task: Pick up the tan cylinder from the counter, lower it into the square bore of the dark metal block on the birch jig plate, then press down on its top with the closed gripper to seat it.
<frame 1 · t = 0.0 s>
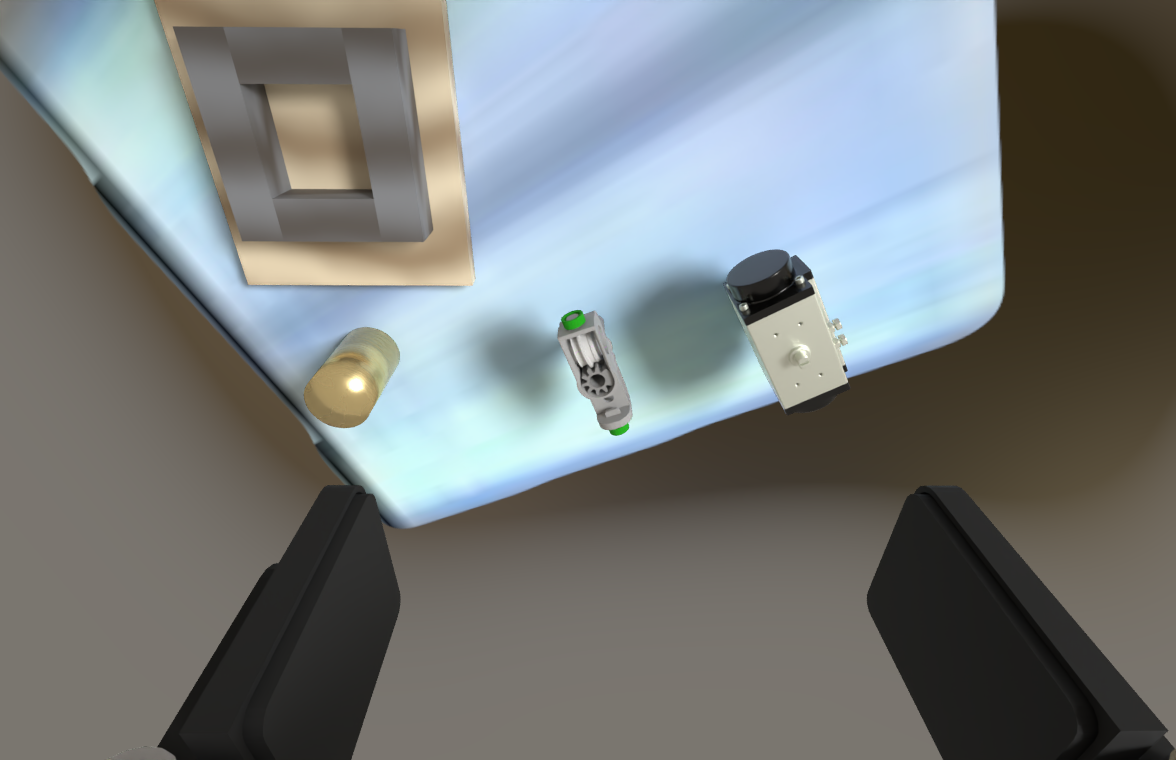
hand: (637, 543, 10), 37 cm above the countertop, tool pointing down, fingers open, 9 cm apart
pneumatic valve: (760, 290, 47), on the countertop
jig plate: (336, 134, 40), on the countertop
tan cylinder: (371, 352, 50), on the countertop
mechanical component: (594, 321, 48), on the countertop
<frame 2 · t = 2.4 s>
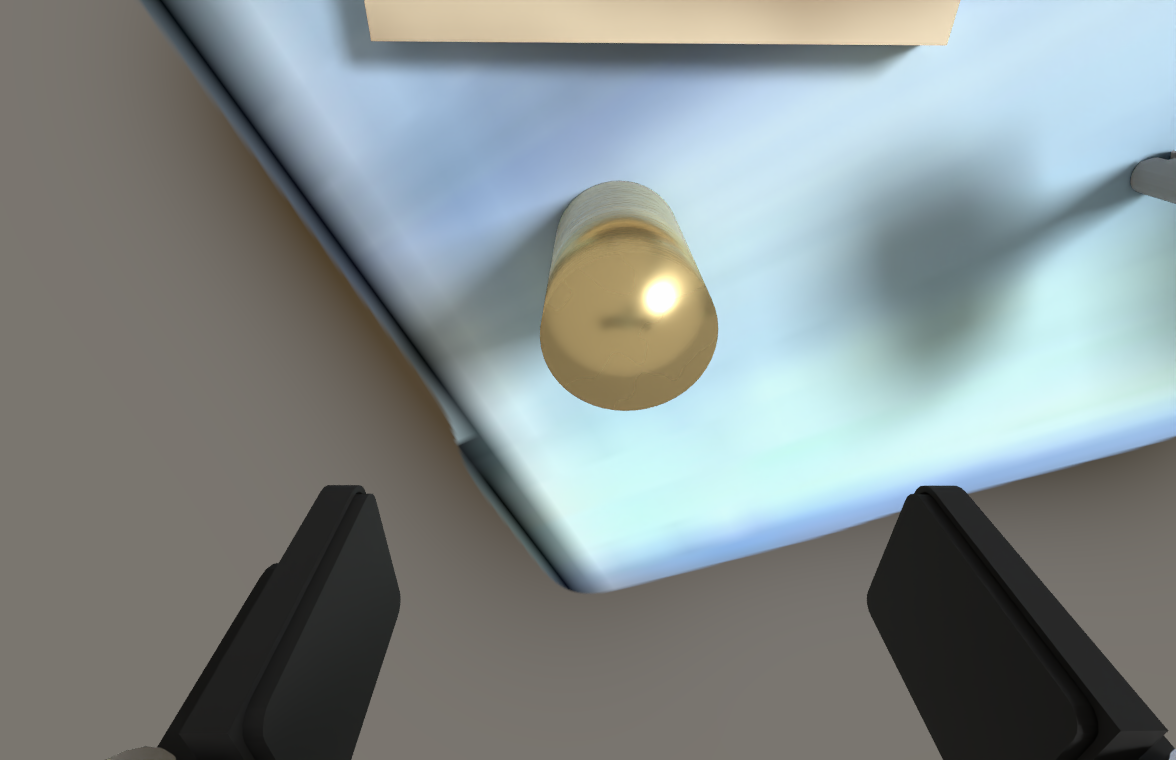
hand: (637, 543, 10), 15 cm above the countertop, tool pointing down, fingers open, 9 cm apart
tan cylinder: (617, 244, 22), on the countertop
mechanical component: (1149, 169, 21), on the countertop
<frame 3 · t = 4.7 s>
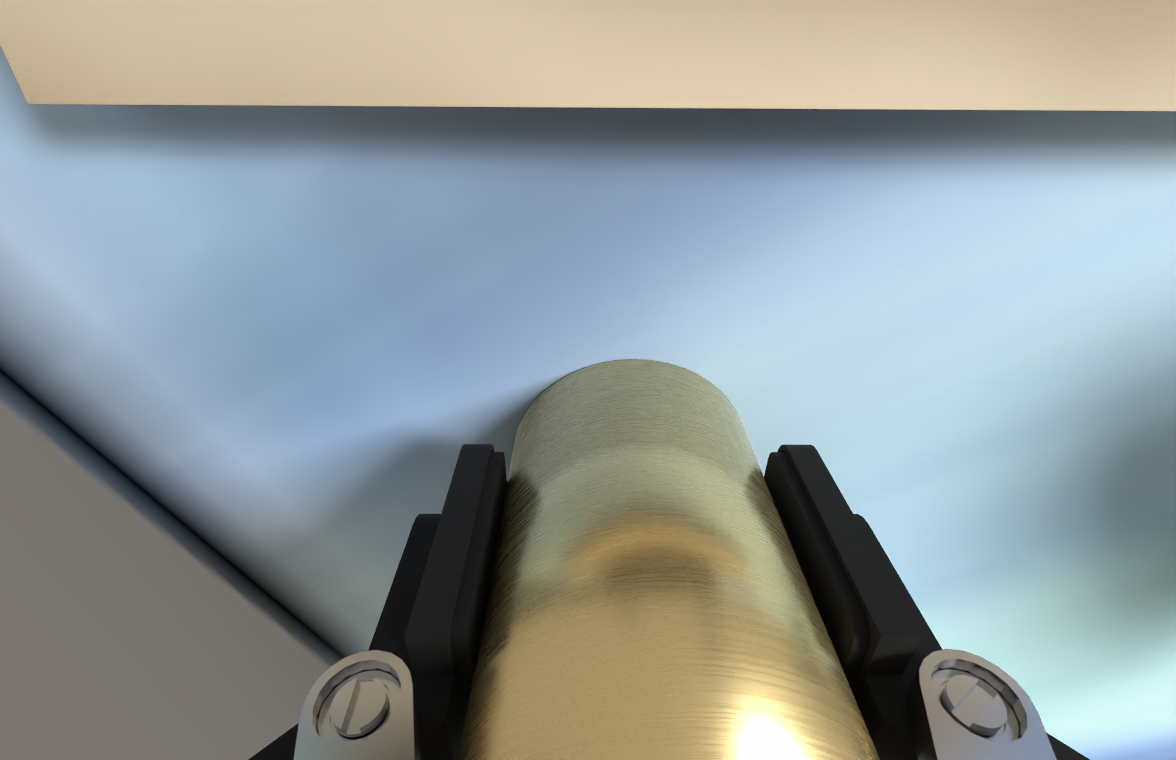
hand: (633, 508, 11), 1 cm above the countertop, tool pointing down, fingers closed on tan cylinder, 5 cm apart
tan cylinder: (628, 459, 12), on the countertop, touching gripper
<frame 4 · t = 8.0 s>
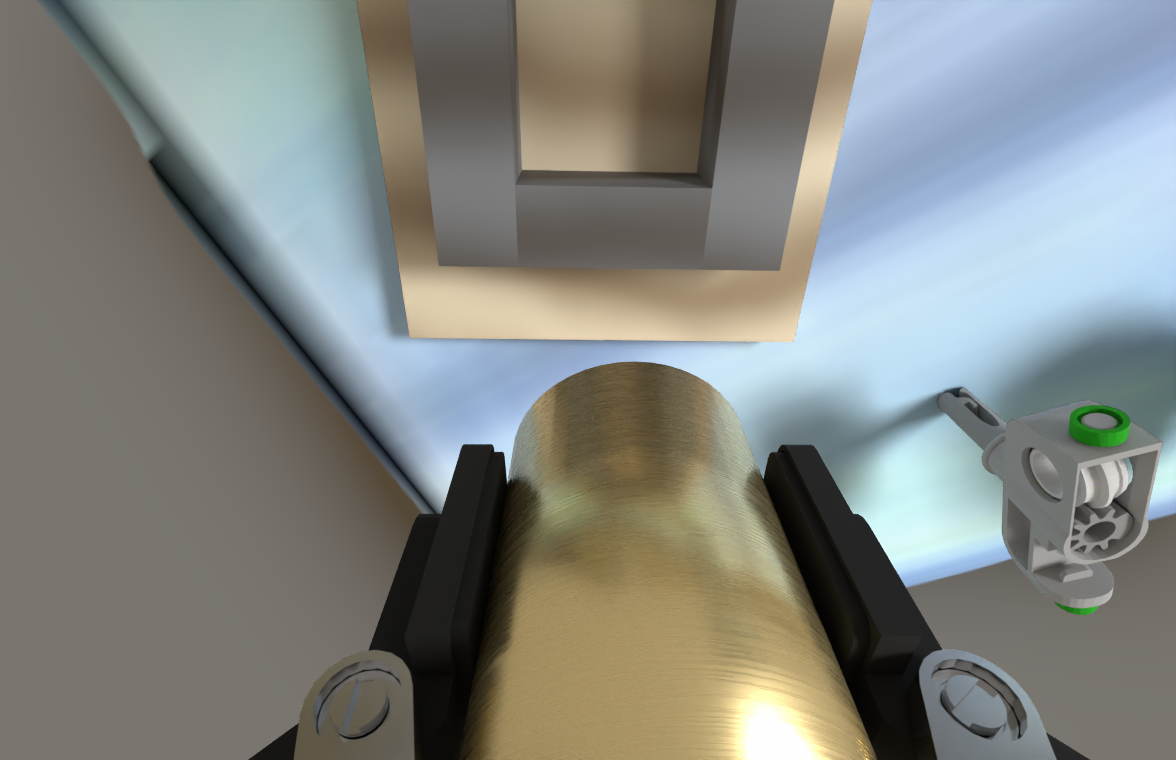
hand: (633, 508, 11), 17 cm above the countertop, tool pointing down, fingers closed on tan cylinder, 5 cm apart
jig plate: (611, 70, 22), on the countertop
tan cylinder: (628, 462, 12), point 15 cm above the countertop, touching gripper
mechanical component: (950, 396, 30), on the countertop
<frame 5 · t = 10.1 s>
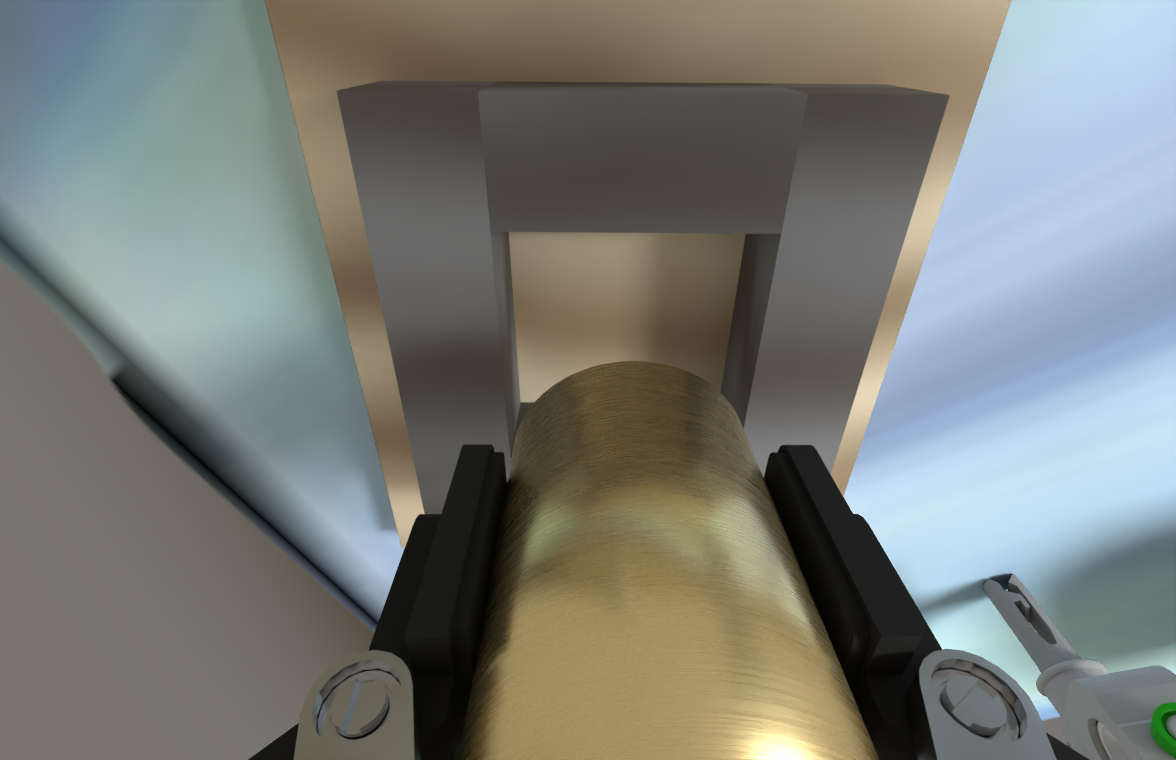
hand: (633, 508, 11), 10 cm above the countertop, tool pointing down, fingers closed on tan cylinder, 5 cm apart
jig plate: (621, 293, 19), on the countertop
tan cylinder: (628, 461, 12), point 8 cm above the countertop, touching gripper
mechanical component: (997, 580, 27), on the countertop
when the fingers open (5 cm above the countertop, at t = 11.8 s): tan cylinder drops 2 cm, resting on jig plate.
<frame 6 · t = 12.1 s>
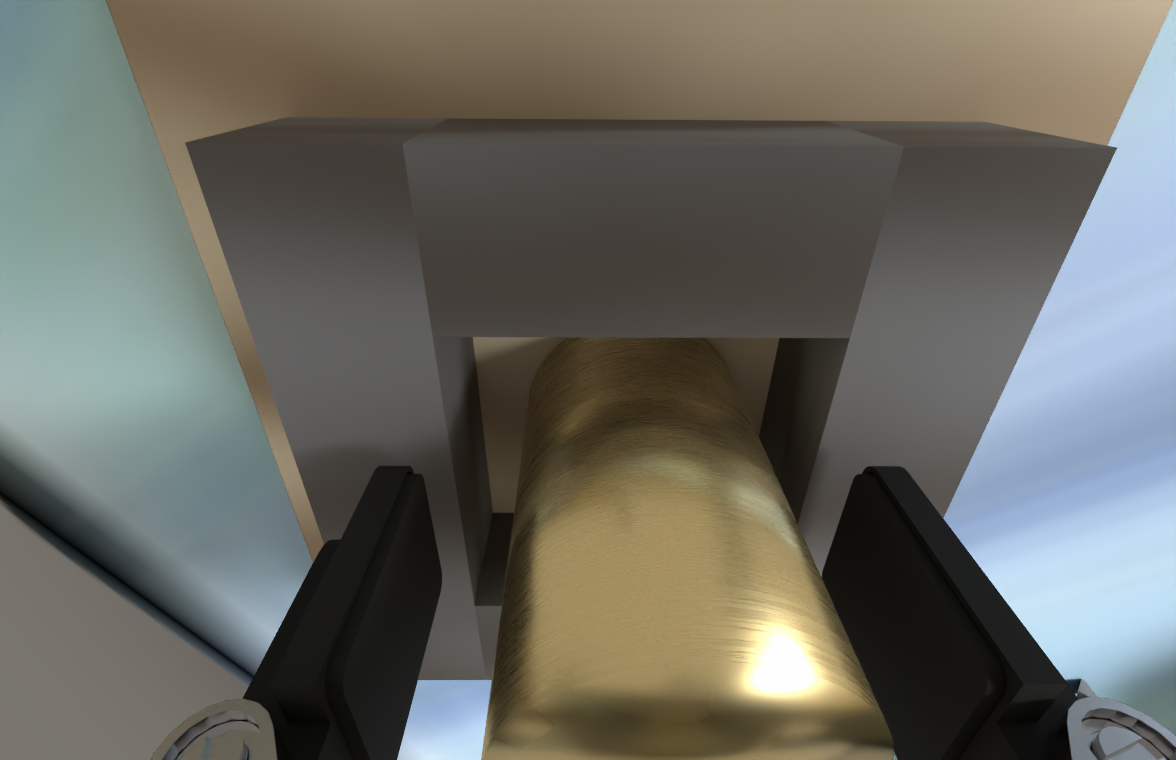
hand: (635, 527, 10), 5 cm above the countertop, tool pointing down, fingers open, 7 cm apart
jig plate: (619, 377, 15), on the countertop
tan cylinder: (631, 408, 14), point 2 cm above the countertop, touching jig plate
mechanical component: (1062, 684, 23), on the countertop
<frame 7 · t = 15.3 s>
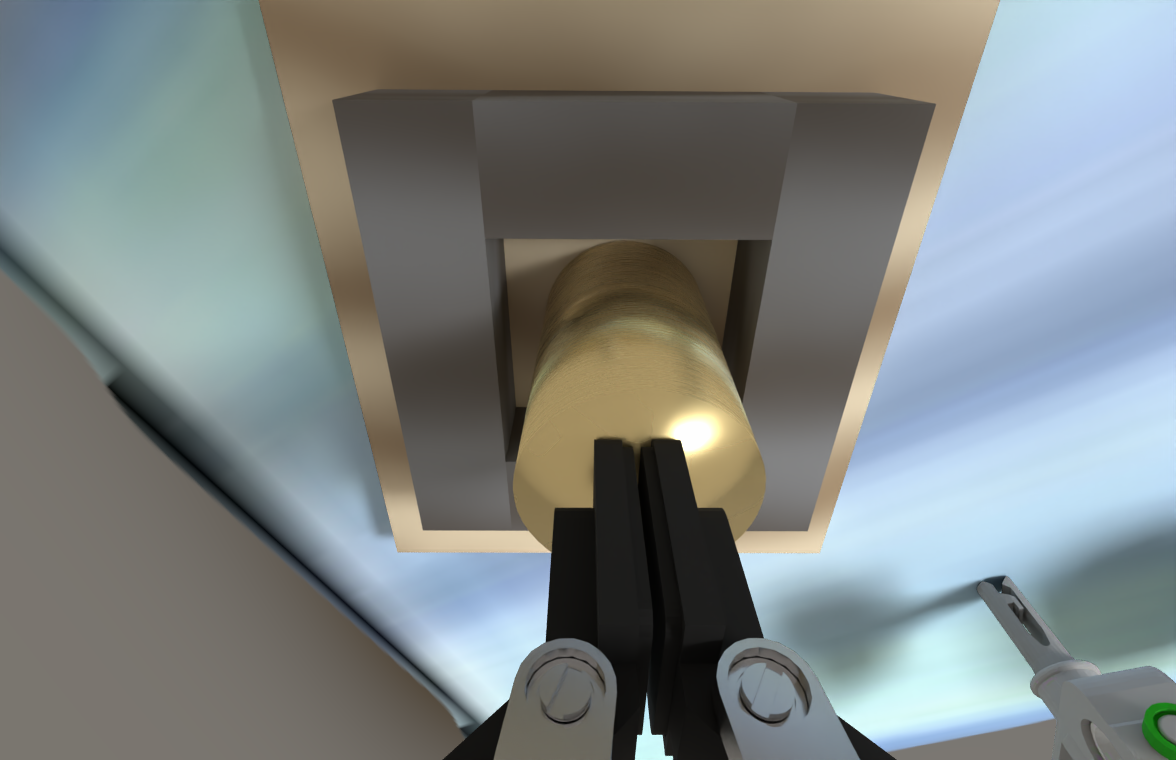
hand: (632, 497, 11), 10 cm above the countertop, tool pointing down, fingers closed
jig plate: (615, 299, 19), on the countertop
tan cylinder: (624, 316, 18), point 2 cm above the countertop, touching gripper, jig plate
mechanical component: (991, 582, 27), on the countertop
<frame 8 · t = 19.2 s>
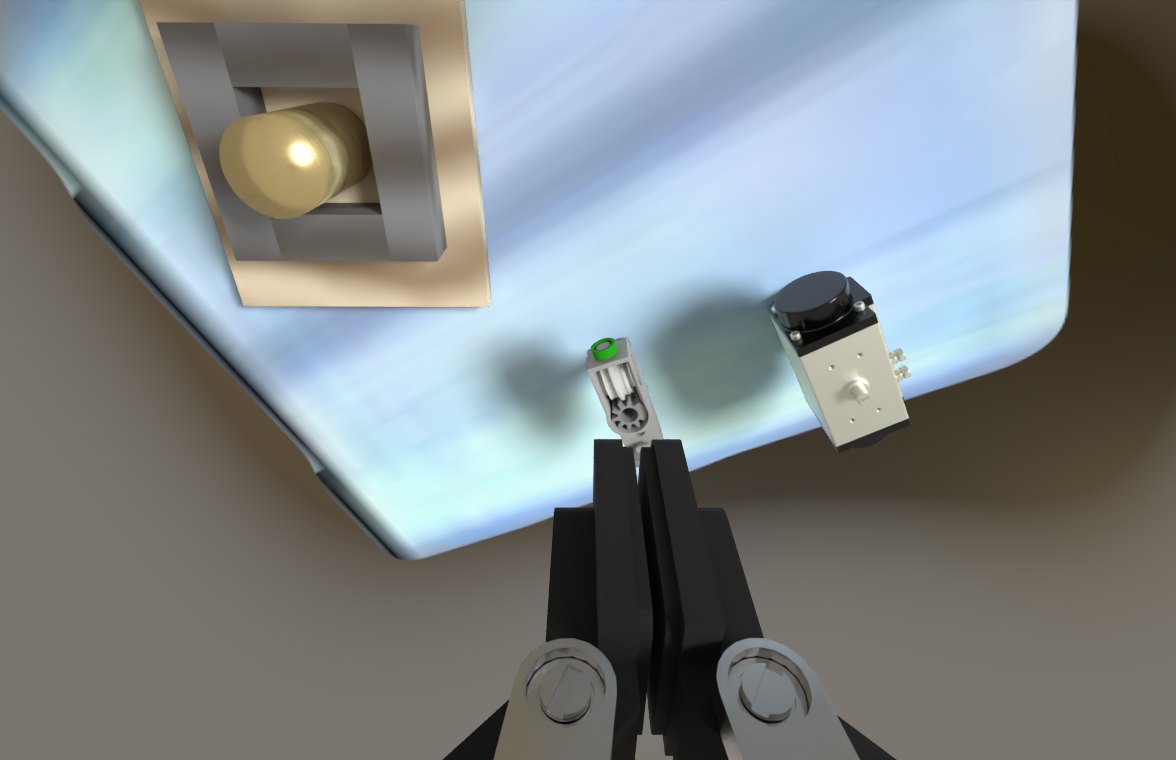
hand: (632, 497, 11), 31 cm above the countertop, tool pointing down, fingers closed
pneumatic valve: (801, 310, 43), on the countertop
jig plate: (340, 142, 36), on the countertop
tan cylinder: (334, 145, 35), point 2 cm above the countertop, touching jig plate
mechanical component: (620, 344, 45), on the countertop
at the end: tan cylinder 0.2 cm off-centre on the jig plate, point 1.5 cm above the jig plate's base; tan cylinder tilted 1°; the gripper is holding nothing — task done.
